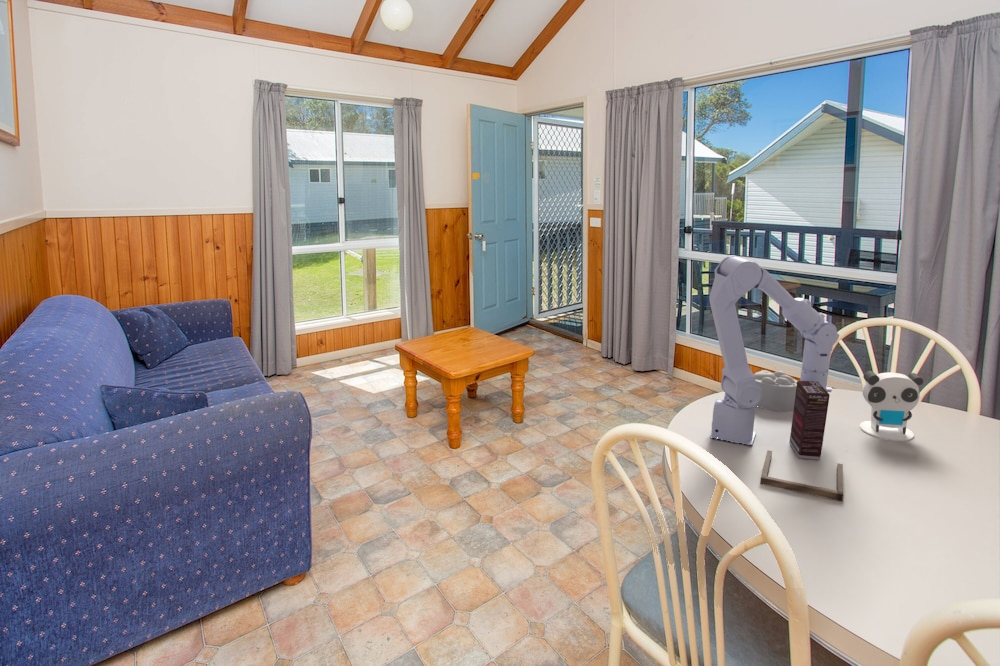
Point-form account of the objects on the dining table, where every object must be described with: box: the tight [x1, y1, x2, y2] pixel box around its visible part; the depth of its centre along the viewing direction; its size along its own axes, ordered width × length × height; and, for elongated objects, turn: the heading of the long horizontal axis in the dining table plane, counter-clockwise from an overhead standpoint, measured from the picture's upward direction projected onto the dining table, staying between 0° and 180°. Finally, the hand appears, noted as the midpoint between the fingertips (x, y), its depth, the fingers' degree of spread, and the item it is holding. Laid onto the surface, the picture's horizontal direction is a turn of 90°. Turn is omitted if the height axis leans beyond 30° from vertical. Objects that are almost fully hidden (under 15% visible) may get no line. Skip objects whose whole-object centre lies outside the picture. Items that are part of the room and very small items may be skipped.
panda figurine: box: [859, 370, 924, 442], centre depth 146 cm, size 12×11×15 cm
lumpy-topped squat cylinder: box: [753, 369, 798, 413], centre depth 165 cm, size 10×13×9 cm
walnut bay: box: [759, 449, 844, 502], centre depth 126 cm, size 15×14×2 cm
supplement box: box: [789, 380, 831, 461], centre depth 136 cm, size 9×5×16 cm, turn 169°
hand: (808, 421), depth 146 cm, fingers closed
